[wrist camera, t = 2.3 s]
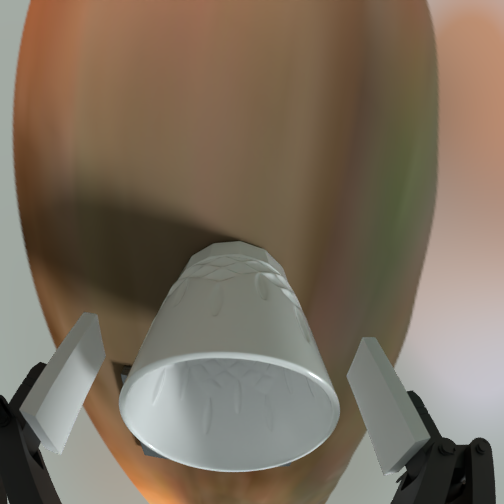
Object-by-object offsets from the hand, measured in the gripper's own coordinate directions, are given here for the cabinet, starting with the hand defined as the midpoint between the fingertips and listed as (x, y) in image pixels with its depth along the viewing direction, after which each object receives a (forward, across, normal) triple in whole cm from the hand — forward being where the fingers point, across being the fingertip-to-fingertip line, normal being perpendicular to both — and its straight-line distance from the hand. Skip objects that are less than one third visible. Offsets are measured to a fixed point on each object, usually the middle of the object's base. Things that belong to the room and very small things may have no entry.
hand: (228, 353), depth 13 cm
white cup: (+5, 0, 0) cm, 5 cm away
